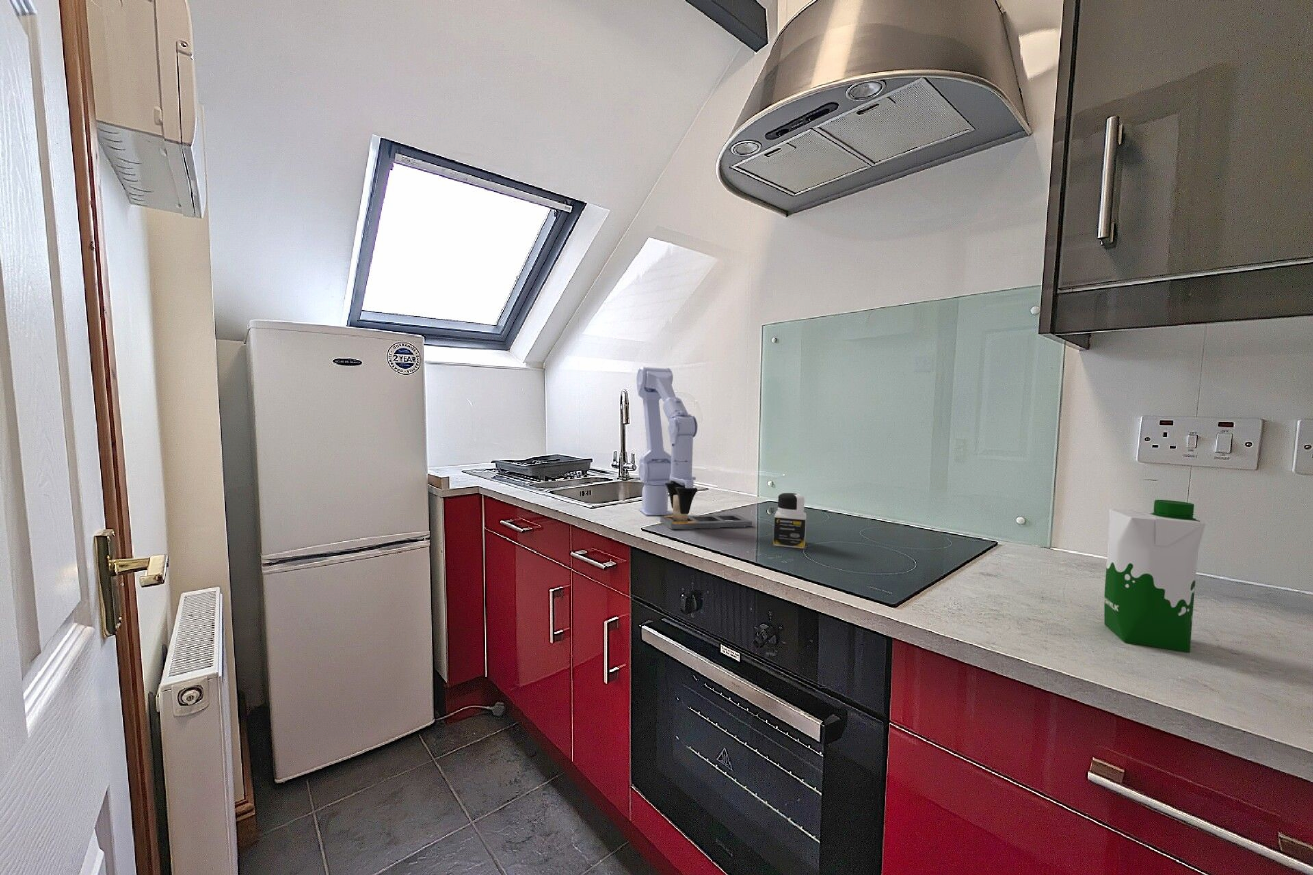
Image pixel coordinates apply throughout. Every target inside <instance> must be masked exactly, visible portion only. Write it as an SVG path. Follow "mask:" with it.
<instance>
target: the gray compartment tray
mask: <svg viewBox="0 0 1313 875" xmlns="http://www.w3.org/2000/svg"><path fill="white" fill-rule="evenodd" d="M659 516H660V518H659V519H660V523H661V524H662V525H664V526H665V527H667V528H668V529H669V528H670V529H669V530H671V529H683V530H691V529H690V528H710V529H721V528H720V527H738V528H745V527H744V526H752V527H753V521H752V520H750V519H748V518H746V517H743V516H741V515H739V514H737V513H735V514H733V513H730V514H727V513H726V514H702V515H701V514H700V515H699V514H698V515H693V514H692V515H688V521H678V522H675V521H674V520H673V514H672V515H659ZM725 520H733V521H725Z"/></svg>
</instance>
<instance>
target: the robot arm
mask: <svg viewBox="0 0 1313 875" xmlns="http://www.w3.org/2000/svg"><path fill="white" fill-rule="evenodd" d="M673 379H674V375H673V372H672V369H671V368H669V367H666V368H665V367H664V368H663V367H649V366H640V368H639V369H638V371H637V374H636V390H637V396H638V397H639V398H641V399H642V405H643V416H644V417H643V418H644V428H645V438H646V448H647V450H646V452H645V453H644V454H643V455H642V456H641V457H639V458H640V459H639V461H638V462H639V464H638V465H639V466H638V477H639V479H640V481H641V482H642V483H643V484H644V485H643V487H642V489H641V490H642V491H641V492H642V493H641V507H639V508H638V510H639V511H640V512H641V513H642V514H643V515H645V516H667V515H673V512H671V511H670V510H668V509H669V508H668V507H669V500H670V505H671V508H672V509H673V496H674V495H678V498H679V507H680V513H681V514H688V515H689V514H690V510H691V507H692V503H693V500H694V497H695V496H696V494H697V492H698V488H697V487H694V483H695V481H696V480H697V477H696V476H693V452H694V451H693V449H694V447H693V446H694V438H695V437H696V435H697V432H698V422H697V419H696V416H694V415H692V414H689V412H688V411H687V409H686V407H685V405H684V403H683V401H682V399H681V398H679V397H678V396H676V394H675V390H674V388H673V385H672V384H673V381H674V380H673ZM661 399H662V401H663V405H662V409H663V412H664V414H665V417H666V419H667V421H668V427H667V428H668V429H667V430H668V435H669V443H670V444H671V454H669V453H668V452H667V451H666V450H664V439H663V438H664V437H663V430H662V429H663V428H662V420H661V408H660V400H661Z"/></svg>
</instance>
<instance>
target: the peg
mask: <svg viewBox="0 0 1313 875" xmlns="http://www.w3.org/2000/svg"><path fill="white" fill-rule="evenodd" d="M672 515H673V520H674V521H675V522H678V521H688V516H689V514H681V513H680V507H679V498H678V495H674V496H673V508H672Z"/></svg>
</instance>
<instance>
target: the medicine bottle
mask: <svg viewBox="0 0 1313 875" xmlns="http://www.w3.org/2000/svg"><path fill="white" fill-rule="evenodd" d="M806 528H807V513H806V512H805V496H804V495H803V494H800V493H794V492H783V493H780V494H779V495H778V497H777V510H776V511H775V513H774V515H773V538H772V545H773V546H775V547H786V548H794V549H795V548H798V549H805V548H806Z"/></svg>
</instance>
